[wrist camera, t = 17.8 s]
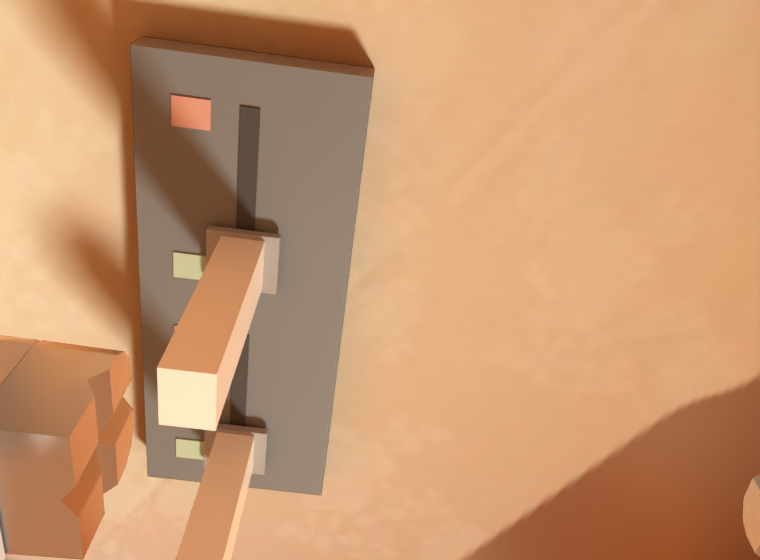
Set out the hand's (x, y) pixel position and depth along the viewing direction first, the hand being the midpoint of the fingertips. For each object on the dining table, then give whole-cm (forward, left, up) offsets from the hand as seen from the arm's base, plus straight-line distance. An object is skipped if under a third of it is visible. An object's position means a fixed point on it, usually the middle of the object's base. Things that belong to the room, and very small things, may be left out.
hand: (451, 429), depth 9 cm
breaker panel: (+11, -16, -31) cm, 37 cm away
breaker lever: (+20, -21, -29) cm, 41 cm away
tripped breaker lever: (+8, -14, -29) cm, 33 cm away
